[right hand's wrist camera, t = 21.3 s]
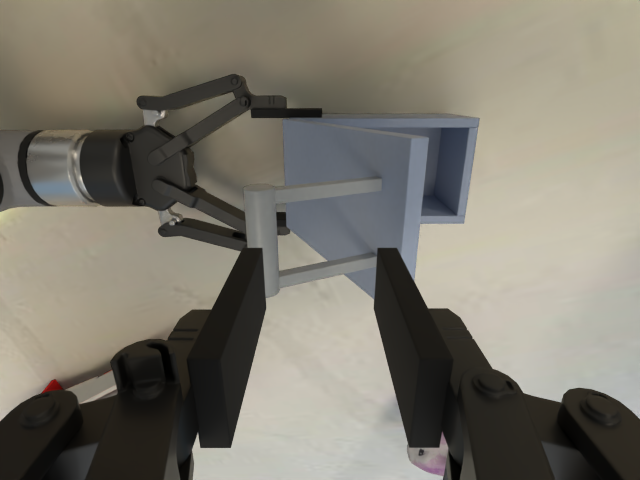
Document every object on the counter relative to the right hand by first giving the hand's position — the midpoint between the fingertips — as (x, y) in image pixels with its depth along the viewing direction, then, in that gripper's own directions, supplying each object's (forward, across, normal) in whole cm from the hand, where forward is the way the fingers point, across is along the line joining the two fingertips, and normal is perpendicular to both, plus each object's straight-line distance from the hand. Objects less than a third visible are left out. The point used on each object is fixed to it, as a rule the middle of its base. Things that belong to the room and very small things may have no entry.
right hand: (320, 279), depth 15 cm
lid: (+13, +2, 0) cm, 13 cm away
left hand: (+24, 0, 0) cm, 24 cm away
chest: (+30, +6, 0) cm, 31 cm away
